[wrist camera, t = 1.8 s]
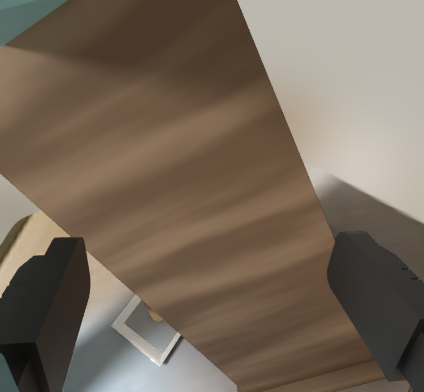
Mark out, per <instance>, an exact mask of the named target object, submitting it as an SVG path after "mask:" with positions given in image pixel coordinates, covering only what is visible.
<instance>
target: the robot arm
mask: <svg viewBox="0 0 424 392" xmlns="http://www.w3.org/2000/svg"><path fill="white" fill-rule="evenodd" d="M327 280H328V284H329V286H330V288H331V290H332V291H333V293H334V295H335V296H336V298H337V299H338V301H339V303H340V304H341V306H342V308H343V309H344V311H345V312H346V314H347V316H348V317H349V319H350V320H351V322H352V324H353V325H354V327H355V328H356V330H357V332H358V333H359V335H360V336H361V338H362V340H363V341H364V343H365V345H366V346H367V348H368V349H369V351H370V353H371V354H372V356H373V357H374V359H375V361H376V362H377V364H378V365H379V367H380V369H381V370H382V372H383V374H384V375H385V377H386V378H387V380H388V381H398V380H407V381H408V383H409V384H410V386H411V387H410V389H409V391H408V392H424V283H423V282H422V281H421V280H418V277H417V276H416V275H415V274H414V273H413V272H412V271H411V270H409V269H408V267H407V266H406V265H405V264H404V263H403V262H402V261H401V260H400V259H399V258H398V257H397V256H396V255H394V254H393V253H391V252H389V251H388V250H386V249H385V248H383V247H381V246H379V245H378V244H377V243H376V242H375V241H374V240H373V239H372V238H371V237H370V236H369V235H368V234H367V233H366V232H364V231H356V232H340V233H339V234H338V235H337V237H336V240H335V243H334V247H333V250H332V254H331V257H330V261H329V264H328V268H327ZM89 294H90V273H89V266H88V260H87V254H86V247H85V242H84V239H83V237H59V238H54V239H53V240H52V242H51V244H50V246H49V248H48V249H47V251H46V253H45V255H38V256H33V257H32V258H30V259H29V260H28V261H27V262H26V263H24V264H23V265H22V266H21V267H19V268H18V270H17V271H16V273H15V275H14V276H13V278H12V280H11V281H10V285H9V286H7V288H6V289H5V291H4V292H3V294H2V298H0V392H61V391H62V388H63V384H64V381H65V377H66V374H67V371H68V367H69V364H70V360H71V357H72V354H73V350H74V347H75V343H76V340H77V336H78V333H79V330H80V326H81V323H82V319H83V316H84V313H85V309H86V306H87V302H88V299H89Z"/></svg>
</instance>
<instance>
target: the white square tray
mask: <svg viewBox="0 0 424 392" xmlns="http://www.w3.org/2000/svg"><path fill="white" fill-rule="evenodd" d="M140 301H141V299H140V298H139V297H138V296H137V295H136V294H135V296H134V297H133V298H132V299H131V301H130V302H129V303H128V305H127V306H126V307H125V308H124V310H123V311H122V312H121V314H120V315H119V316H118V317H117V319H116V320H115V321H114V323H113V324H112V325H111V327H113V328H114V329H115V330H116V331H117V332H119V333H120V334H121V335H122V336H123V337H125V338H126V339H127V340H128V341H129V342H131V343H132V344H133V345H134V346H135V347H137V348H138V349H139V350H140V351H141V352H143V353H144V354H145V355H146V356H147V357H149V358H150V359H151V360H152V361H153V362H155V363H156V364H157V365H158V366H161V365H162V363H163V362H164V360H165V359H166V357H167V356H168V354H169V353H170V351H171V350H172V348H173V347H174V345H175V344H176V342H177V341H178V339H179V338H180V336H181V335H180V334H179V333H178V332H177V333H176V335H175V336H174V338H173V339H172V341H171V342H170V344H169V345H168V347H167V348H166V350H165V351H164V353H161V352H160V351H159V350H157V349H156V348H155V347H154V346H152V345H151V344H150V343H148V342H147V341H146V340H145V339H143V338H142V337H141V336H139V335H138V334H137V333H136V332H134V331H133V330H132V329H130V328H129V327H128V326H127V325H125V324H124V323H125V321H126V320H127V318H128V317H129V316H130V314H131V313H132V312H133V311H134V309H135V308H136V307H137V305H138V304H139V303H140ZM144 304H145V306H146V308H147V310H148V312H149V314H150V316H151V318H152V319H153V320H154V321H156V322H161V321H164V319H163V318H161V317H160V316H159V315H158V314H157V313H156V312H155V311H154V310H153V309H151V308H150V307H149V306H148V305H147V304H146V303H145V302H144Z"/></svg>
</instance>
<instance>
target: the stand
mask: <svg viewBox="0 0 424 392" xmlns="http://www.w3.org/2000/svg"><path fill="white" fill-rule="evenodd" d="M0 174H2V175H3V176H4V177H5V178H6V179H7V180H8V181H9V182H10V183H11V184H13V185H14V186H15V187H16V188H17V189H18V190H19V191H20V192H22V193H23V194H24V195H25V196H26V197H27V198H28V199H29V200H31V201H32V202H33V203H34V204H35V205H36V206H37V207H38V208H40V209H41V210H42V211H43V212H44V213H45V214H46V215H47V216H48V217H50V218H51V219H52V220H53V221H54V222H55V223H56V224H57V225H59V226H60V227H61V228H62V229H63V230H64V231H65V232H66V233H67V234H69V235H70V236H71V237H83V239H84V242H85V247H86V251H88V252H89V253H90V254H91V255H92V256H93V257H94V258H95V259H97V260H98V261H99V262H100V263H101V264H102V265H103V266H104V267H106V268H107V269H108V270H109V271H110V272H111V273H112V274H113V275H114V276H116V277H117V278H118V279H119V280H120V281H121V282H122V283H123V284H125V285H126V286H127V287H128V288H129V289H130V290H131V291H132V292H133V293H135V294H136V295H137V296H138V297H139V298H140V299H141V300H142V301H144V302H145V303H146V304H147V305H148V306H149V307H150V308H151V309H153V310H154V311H155V312H156V313H157V314H158V315H159V316H160V317H161V318H163V319H164V320H165V321H166V322H167V323H168V324H169V325H170V326H172V327H173V328H174V329H175V330H176V331H177V332H178V333H179V334H180V335H182V336H183V337H184V338H185V339H186V340H187V341H188V342H189V343H191V344H192V345H193V346H194V347H195V348H196V349H197V350H198V351H200V352H201V353H202V354H203V355H204V356H205V357H206V358H207V359H208V360H210V361H211V362H212V363H213V364H214V365H215V366H216V367H217V368H219V369H220V370H221V371H222V372H223V373H224V374H225V375H226V376H228V377H229V378H230V379H231V380H232V381H233V382H234V383H235V384H236V385H237V389H238V392H334V391H338V390H342V389H345V388H349V387H353V386H357V385H361V384H364V383H368V382H372V381H376V380H380V379H383V378H386V377H385V375H384V374H383V372H382V370H381V369H380V367H379V365H378V364H377V362H376V361H375V359H374V357H373V356H372V354H371V353H370V351H369V349H368V348H367V346H366V345H365V343H364V341H363V340H362V338H361V336H360V335H359V333H358V332H357V330H356V328H355V327H354V325H353V324H352V322H351V320H350V319H349V317H348V316H347V314H346V312H345V311H344V309H343V308H342V306H341V304H340V303H339V301H338V299H337V298H336V296H335V295H334V293H333V291H332V290H331V288H330V286H329V284H328V280H327V268H328V264H329V261H330V257H331V254H332V250H333V247H334V243H335V238H334V236H333V234H332V232H331V230H330V227H329V225H328V222H327V220H326V218H325V215H324V213H323V210H322V208H321V205H320V203H319V200H318V198H317V195H316V193H315V191H314V188H313V186H312V183H311V181H310V178H309V176H308V173H307V171H306V168H305V166H304V163H303V161H302V159H301V156H300V154H299V151H298V149H297V146H296V144H295V141H294V139H293V136H292V134H291V132H290V129H289V127H288V124H287V122H286V120H285V117H284V114H283V112H282V109H281V107H280V105H279V102H278V100H277V97H276V95H275V92H274V90H273V87H272V85H271V82H270V80H269V77H268V75H267V73H266V70H265V68H264V65H263V63H262V61H261V58H260V55H259V53H258V50H257V48H256V45H255V43H254V40H253V38H252V36H251V33H250V31H249V28H248V26H247V23H246V21H245V18H244V16H243V13H242V11H241V9H240V6H239V4H238V1H237V0H68V1H66V2H65V3H63V4H62V5H61V6H59V7H58V8H56V9H55V10H53V11H52V12H51V13H49V14H48V15H46V16H45V17H44V18H42V19H41V20H39V21H38V22H36V23H35V24H34V25H32V26H31V27H29V28H28V29H26V30H25V31H24V32H22V33H21V34H19V35H18V36H17V37H15V38H14V39H12V40H11V41H9V42H8V43H7V44H5V45H4V46H2V47H1V48H0Z"/></svg>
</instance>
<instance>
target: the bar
mask: <svg viewBox="0 0 424 392" xmlns="http://www.w3.org/2000/svg"><path fill="white" fill-rule="evenodd" d="M66 1H68V0H0V47H2V46H4V45H5V44H7V43H8V42H9V41H11V40H12V39H14V38H15V37H17V36H18V35H19V34H21V33H22V32H24V31H25V30H26V29H28V28H29V27H31V26H32V25H34V24H35V23H36V22H38V21H39V20H41V19H42V18H44V17H45V16H46V15H48V14H49V13H51V12H52V11H53V10H55V9H56V8H58V7H59V6H61V5H62V4H63V3H65V2H66Z"/></svg>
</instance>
